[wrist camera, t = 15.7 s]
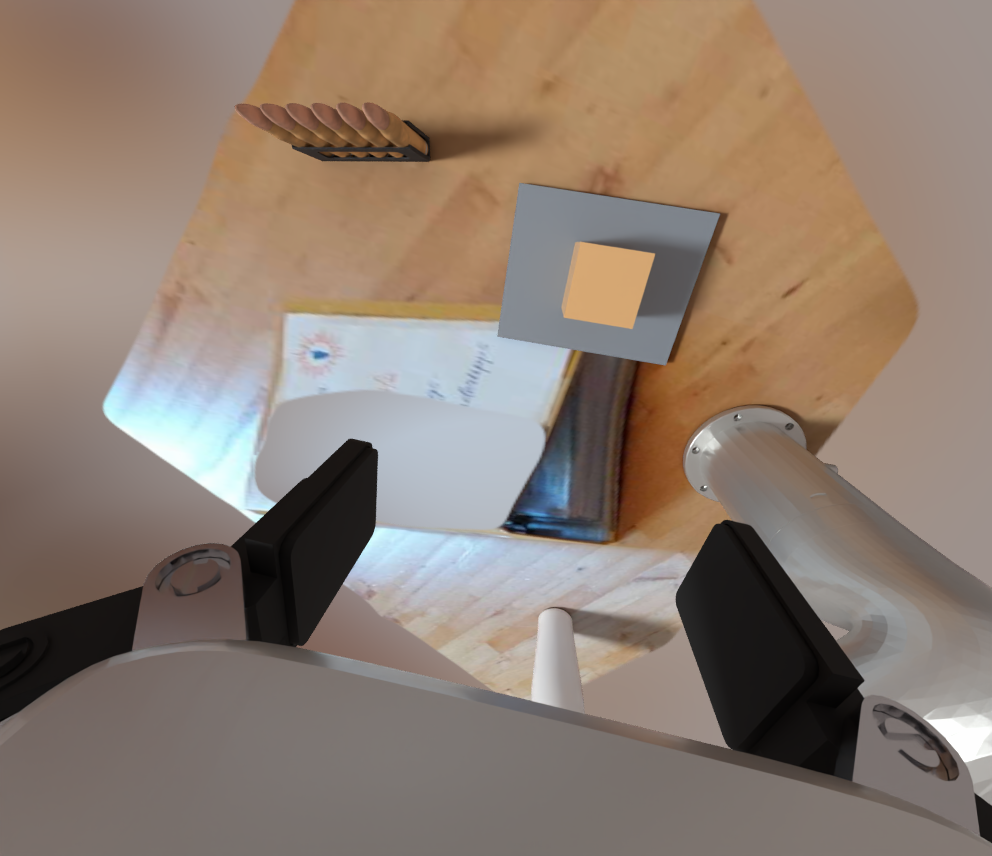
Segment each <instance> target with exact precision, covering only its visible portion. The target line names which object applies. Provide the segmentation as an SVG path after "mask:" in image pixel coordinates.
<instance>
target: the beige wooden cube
mask: <svg viewBox="0 0 992 856" xmlns="http://www.w3.org/2000/svg"><path fill="white" fill-rule="evenodd" d="M654 257H655V254H654V253H648V252H642V251H636V250H629V249H623V248H617V247H611V246H604V245H598V244H592V243H585V242H575V246H574V250H573V255H572V260H571V265H570V269H569V274H568V279H567V283H566V288H565V293H564V297H563V302H562V307H561V308H562V312H563V316H564V318H569V319H575V320H581V321H587V322H593V323H599V324H605V325H611V326H617V327H623V328H629V329H633V326H634V322H635V319H636V316H637V313H638V309H639V306H640V303H641V299H642V296H643V293H644V290H645V286H646V283H647V280H648V276H649V273H650V270H651V267H652V263H653V260H654Z"/></svg>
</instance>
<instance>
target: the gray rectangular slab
mask: <svg viewBox="0 0 992 856" xmlns="http://www.w3.org/2000/svg"><path fill="white" fill-rule="evenodd" d="M719 216H720V214H719V213H713V212H706V211H700V210H693V209H687V208H680V207H673V206H667V205H660V204H654V203H647V202H641V201H634V200H628V199H621V198H615V197H608V196H602V195H595V194H589V193H582V192H576V191H569V190H562V189H556V188H549V187H543V186H536V185H530V184H523V183H519V190H518V197H517V204H516V211H515V218H514V225H513V232H512V239H511V246H510V253H509V260H508V267H507V273H506V280H505V287H504V294H503V301H502V308H501V315H500V322H499V329H498V336H497V337H503V338H509V339H515V340H521V341H527V342H532V343H538V344H544V345H550V346H556V347H562V348H568V349H573V350H579V351H585V352H591V353H597V354H603V355H608V356H614V357H620V358H626V359H632V360H638V361H644V362H649V363H655V364H661V365H666V363H667V360H668V357H669V355H670V352H671V349H672V346H673V343H674V341H675V338H676V335H677V332H678V330H679V327H680V324H681V321H682V318H683V316H684V313H685V310H686V307H687V305H688V302H689V299H690V296H691V293H692V291H693V288H694V285H695V282H696V280H697V277H698V274H699V271H700V268H701V266H702V263H703V260H704V257H705V255H706V252H707V249H708V246H709V243H710V241H711V238H712V235H713V232H714V229H715V227H716V224H717V221H718V218H719ZM575 242H585V243H592V244H598V245H604V246H611V247H617V248H623V249H629V250H636V251H642V252H648V253H654V254H655V257H654V260H653V263H652V267H651V270H650V273H649V276H648V280H647V283H646V286H645V290H644V293H643V296H642V299H641V303H640V306H639V309H638V313H637V316H636V319H635V322H634V326H633V329H629V328H623V327H617V326H611V325H605V324H599V323H593V322H587V321H581V320H575V319H569V318H564V316H563V312H562V308H561V307H562V302H563V297H564V293H565V288H566V283H567V279H568V274H569V269H570V265H571V260H572V255H573V250H574V246H575Z"/></svg>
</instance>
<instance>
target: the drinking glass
mask: <svg viewBox="0 0 992 856" xmlns="http://www.w3.org/2000/svg"><path fill="white" fill-rule="evenodd" d="M531 701H534V702H538V703H542V704H546V705H551V706H555V707H559V708H563V709H567V710H571V711H576V712H580V713H584V699H583V691H582V683H581V677H580V671H579V665H578V659H577V653H576V647H575V641H574V634H573V624H572V619H571V617H570V615H569V614H568V613H567V612H566V611H564V610H561V609H558V608H550V609H546V610H544V611H543V612H542V613H541V614H540V615H539V618H538V632H537V642H536V651H535V660H534V669H533V678H532V689H531Z"/></svg>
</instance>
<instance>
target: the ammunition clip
mask: <svg viewBox="0 0 992 856" xmlns="http://www.w3.org/2000/svg"><path fill="white" fill-rule="evenodd" d="M285 107H286V109H285V108H283V107H281V106H278V105H274V104H262V105H260V108H258V107H256V106H253V105H249V104H237V105H235V109H236V111H237V112H238V113H239V114H240V115H241V116H242V117H243V118H244V119H245V120H247V121H248V122H249V123H251V124H253V125H254V126H256V127H259V128H261V129H262V130H264V131H266V132H268V133H270V134H271V135H272V136H274V137H275V138H277V139H279V140H282V141H284V142H287V143H289V144H291V145H292V148H293V149H295V150H297V151H299V152H302V153H304V154H307V155H309V156H311V157H314V158H316V159H319V160H321V161H399V162H429V161H430V145H429V137H427V136H426V135H425V134H424V133H423V132H421V131H420V130H419V129H418V128H417V127H415V126H414V125H413V124H412V123H411V122H409V121H402V120H400V119H399V118H398V117H397V116H396V115H395V114H393V113H391V112H387V111H386V110H384V109H382V108H381V107H380V106H378V105H376V104H373V103H364V104H363V105H362V109H363V111H362V110H360V109H358V108H356V107H354V106H352V105H350V104H347V103H339V104H337V106H336V108H337V110H336V109H333V108H332V107H330V106H327V105H325V104H321V103H313V104H312V105H311V109H309V108H307V107H305V106H303V105H300V104H295V103H289V104H287V105H286V106H285Z"/></svg>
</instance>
